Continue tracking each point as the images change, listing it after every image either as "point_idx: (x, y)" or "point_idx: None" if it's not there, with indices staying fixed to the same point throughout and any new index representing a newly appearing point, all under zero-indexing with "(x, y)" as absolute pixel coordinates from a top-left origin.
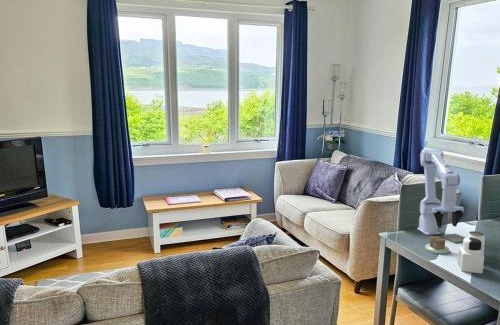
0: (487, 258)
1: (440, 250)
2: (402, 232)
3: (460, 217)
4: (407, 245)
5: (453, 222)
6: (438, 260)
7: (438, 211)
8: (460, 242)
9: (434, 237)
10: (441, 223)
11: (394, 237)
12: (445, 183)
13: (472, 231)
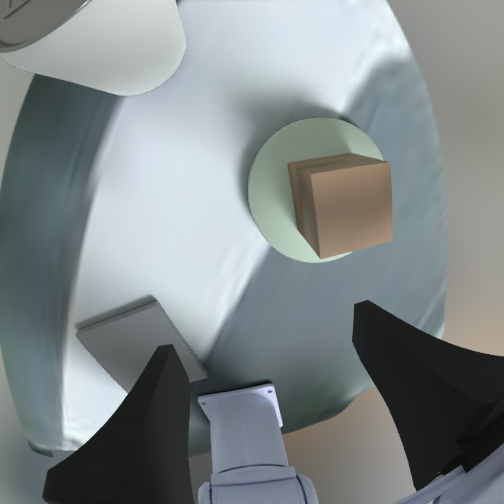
0: (58, 86)
1: (327, 138)
2: (361, 383)
3: (89, 439)
4: (429, 246)
5: (181, 397)
6: (371, 41)
7: (491, 455)
8: (125, 312)
9: (371, 230)
10: (385, 326)
11: (422, 328)
12: None
13: (42, 32)
